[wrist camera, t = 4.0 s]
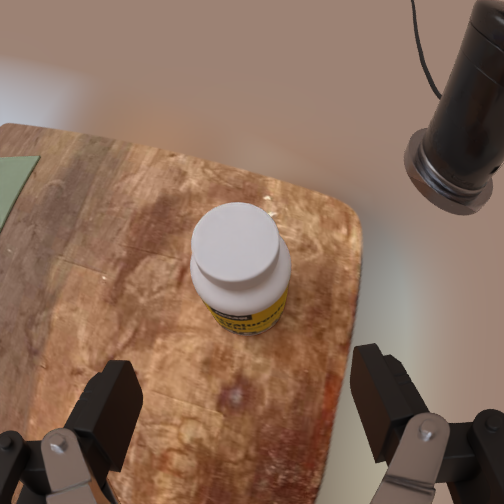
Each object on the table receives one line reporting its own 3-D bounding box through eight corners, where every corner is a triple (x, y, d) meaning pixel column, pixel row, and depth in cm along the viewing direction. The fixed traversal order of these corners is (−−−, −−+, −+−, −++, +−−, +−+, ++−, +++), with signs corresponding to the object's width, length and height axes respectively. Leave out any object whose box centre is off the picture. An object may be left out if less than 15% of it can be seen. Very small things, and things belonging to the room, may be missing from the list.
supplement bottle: (216, 343, 22) (179, 306, 13) (206, 273, 24) (171, 199, 15) (292, 329, 22) (308, 282, 13) (277, 260, 24) (280, 179, 15)
